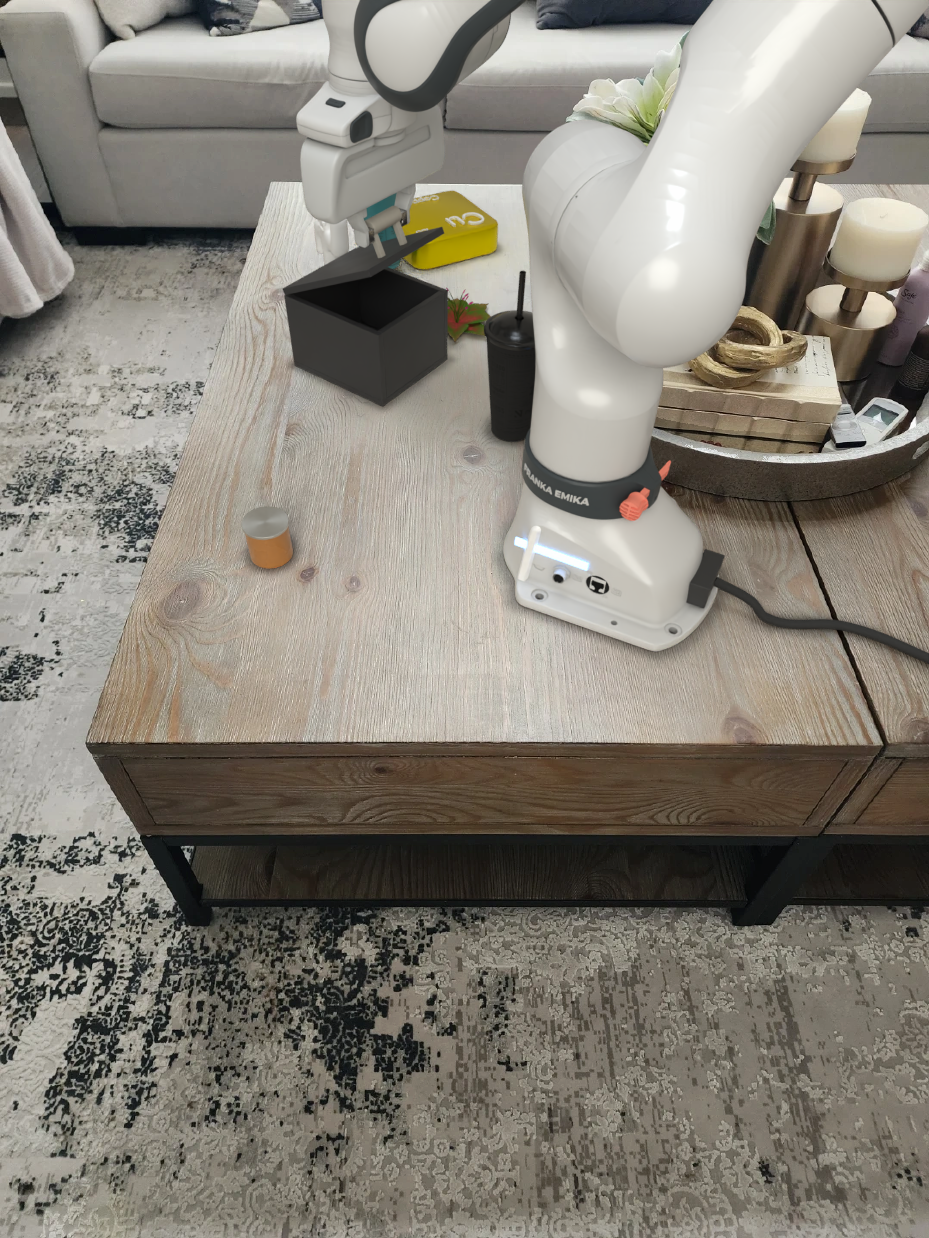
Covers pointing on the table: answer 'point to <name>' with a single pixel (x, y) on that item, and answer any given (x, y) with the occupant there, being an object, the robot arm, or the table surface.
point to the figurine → (331, 239)
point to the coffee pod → (268, 536)
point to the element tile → (450, 230)
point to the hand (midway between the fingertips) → (382, 234)
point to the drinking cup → (511, 369)
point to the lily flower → (465, 317)
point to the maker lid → (367, 254)
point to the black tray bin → (370, 333)
